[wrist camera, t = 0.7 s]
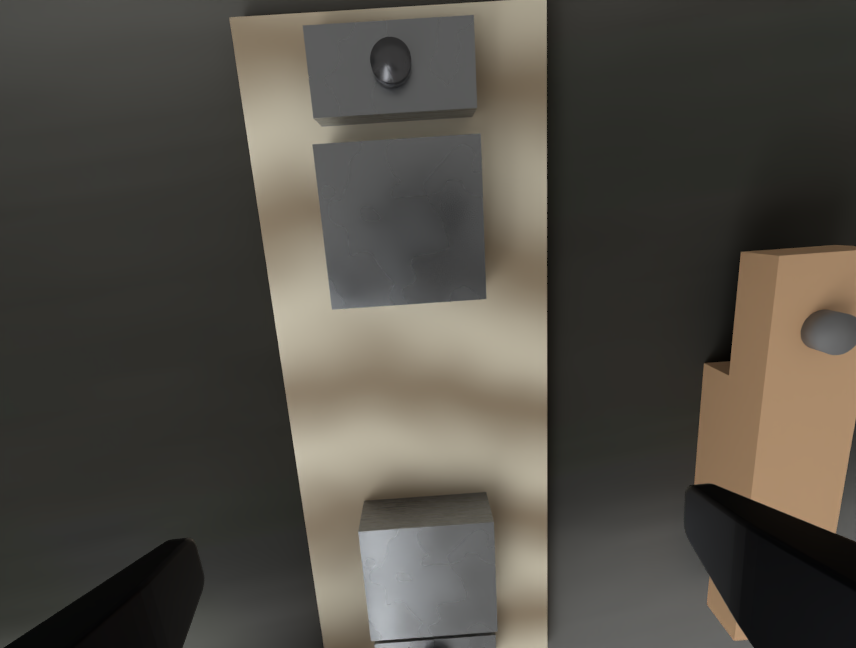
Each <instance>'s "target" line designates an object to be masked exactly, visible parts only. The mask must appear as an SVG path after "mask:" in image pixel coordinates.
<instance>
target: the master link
mask: <svg viewBox="0 0 856 648" xmlns="http://www.w3.org/2000/svg"><path fill="white" fill-rule="evenodd" d="M855 420H856V246H845V245H828V246H814V247H801V248H787V249H773V250H760V251H746V252H741V256H740V266H739V277H738V287H737V298H736V308H735V318H734V329H733V339H732V349H731V360H730V361H726V362H713V363H704V370H703V383H702V395H701V408H700V420H699V432H698V445H697V457H696V470H695V482H694V485H697V484H706V483H711V484H715V485H717V486H720V487H722V488H725V489H727V490H729V491H732V492H734V493H737V494H739V495H742V496H744V497H747V498H749V499H752V500H754V501H757V502H759V503H761V504H764V505H766V506H769V507H771V508H774V509H776V510H779V511H781V512H784V513H786V514H789V515H791V516H793V517H796V518H798V519H801V520H803V521H806V522H808V523H811V524H813V525H816V526H818V527H821V528H823V529H826V530H828V531H830V532H833V533H835V534H836V530H837V524H838V518H839V512H840V506H841V501H842V495H843V489H844V483H845V478H846V472H847V466H848V460H849V454H850V449H851V443H852V437H853V431H854V426H855ZM707 605H708V607H709V608H710V609H711V611H712V612H713V613H714V615H715V616H716V617H717V619H718V620H719V621H720V623H721V624H722V625H723V627H724V628H725V629H726V631H727V632H728V633H729V635H730V636H731V637H732V639H733V640H734V641H738V640H748V639H747V637H746V636H745V634H744V633H743V631H742V630H741V628H740V627H739V625H738V624H737V622H736V620H735V619H734V617H733V616H732V614H731V612H730V611H729V609H728V607H727V605H726V604H725V602H724V600H723V599H722V597H721V595H720V593H719V592H718V590H717V588H716V586H715V585H714V583H713V581H712V580H711V578H710V577H709V587H708V598H707Z"/></svg>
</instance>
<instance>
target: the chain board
mask: <svg viewBox="0 0 856 648" xmlns="http://www.w3.org/2000/svg"><path fill="white" fill-rule="evenodd" d="M463 15H474V33H475V61H476V89H477V109H476V111H475V113H474V115H473V116H472V117H465V118H450V119H434V120H418V121H403V122H387V123H372V124H356V125H341V126H325V127H322V126H321V125H320V124H319V123H318V122H317V121H316V120H315V119H314V118H313V111H312V103H311V94H310V85H309V77H308V68H307V60H306V51H305V42H304V34H303V25H318V24H334V23H350V22H367V21H383V20H399V19H415V18H431V17H447V16H463ZM229 18H230V25H231V32H232V38H233V45H234V52H235V58H236V65H237V72H238V78H239V85H240V92H241V98H242V105H243V112H244V118H245V125H246V132H247V138H248V145H249V152H250V158H251V165H252V172H253V178H254V185H255V192H256V198H257V205H258V212H259V218H260V225H261V232H262V238H263V245H264V252H265V258H266V265H267V272H268V278H269V285H270V292H271V298H272V305H273V312H274V318H275V325H276V332H277V338H278V345H279V352H280V358H281V365H282V372H283V378H284V385H285V392H286V398H287V405H288V412H289V418H290V425H291V431H292V438H293V445H294V451H295V458H296V465H297V471H298V478H299V485H300V491H301V498H302V505H303V511H304V518H305V525H306V531H307V538H308V545H309V551H310V558H311V565H312V571H313V578H314V585H315V591H316V598H317V605H318V611H319V618H320V625H321V631H322V638H323V645H324V648H375V645H374V643H375V641H371V637H370V628H369V620H368V611H367V603H366V594H365V586H364V577H363V569H362V560H361V552H360V543H359V535H358V530H359V525H360V519H361V514H362V509H363V503H364V501H367V500H381V499H395V498H409V497H422V496H436V495H450V494H464V493H478V492H486V493H487V497H488V501H489V504H490V508H491V512H492V516H493V520H494V537H495V567H496V596H497V626H498V632H495V634H496V648H547V0H505V1H489V2H472V3H456V4H440V5H424V6H408V7H391V8H375V9H359V10H343V11H327V12H310V13H294V14H278V15H262V16H245V17H229ZM480 133H481V152H482V182H483V212H484V241H485V271H486V299H481V300H467V301H452V302H437V303H423V304H408V305H393V306H379V307H364V308H349V309H335V310H332V306H331V298H330V290H329V281H328V273H327V264H326V256H325V247H324V239H323V230H322V222H321V213H320V205H319V196H318V188H317V180H316V171H315V163H314V154H313V146H312V144H325V143H340V142H356V141H371V140H387V139H402V138H418V137H433V136H449V135H464V134H480Z"/></svg>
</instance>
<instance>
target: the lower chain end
mask: <svg viewBox="0 0 856 648" xmlns="http://www.w3.org/2000/svg"><path fill="white" fill-rule="evenodd" d="M358 535H359V543H360V552H361V560H362V569H363V577H364V586H365V594H366V603H367V611H368V620H369V628H370V637H371V641H375V643H374V645H375V648H496V634H495V632H498V626H497V596H496V567H495V537H494V520H493V516H492V512H491V508H490V504H489V501H488V497H487V493H486V492H478V493H464V494H450V495H436V496H422V497H409V498H395V499H381V500H367V501H364V503H363V509H362V514H361V519H360V525H359V530H358Z"/></svg>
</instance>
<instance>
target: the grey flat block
mask: <svg viewBox="0 0 856 648" xmlns="http://www.w3.org/2000/svg"><path fill="white" fill-rule="evenodd" d="M303 34H304V42H305V51H306V60H307V68H308V77H309V85H310V94H311V103H312V111H313V118H314V119H315V120H316V121H317V122H318V123H319V124H320V125H321V126H322V127H325V126H341V125H356V124H372V123H387V122H403V121H418V120H434V119H450V118H465V117H472V116H473V115H474V113H475V111H476V109H477V89H476V61H475V33H474V15H463V16H447V17H431V18H415V19H399V20H383V21H367V22H350V23H334V24H318V25H303ZM312 146H313V154H314V163H315V171H316V180H317V188H318V196H319V205H320V213H321V222H322V230H323V239H324V247H325V256H326V264H327V273H328V281H329V290H330V298H331V306H332V310H335V309H349V308H364V307H379V306H393V305H408V304H423V303H437V302H452V301H467V300H481V299H486V271H485V241H484V212H483V182H482V152H481V133H480V134H464V135H449V136H433V137H418V138H402V139H387V140H371V141H356V142H340V143H325V144H312Z"/></svg>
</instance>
